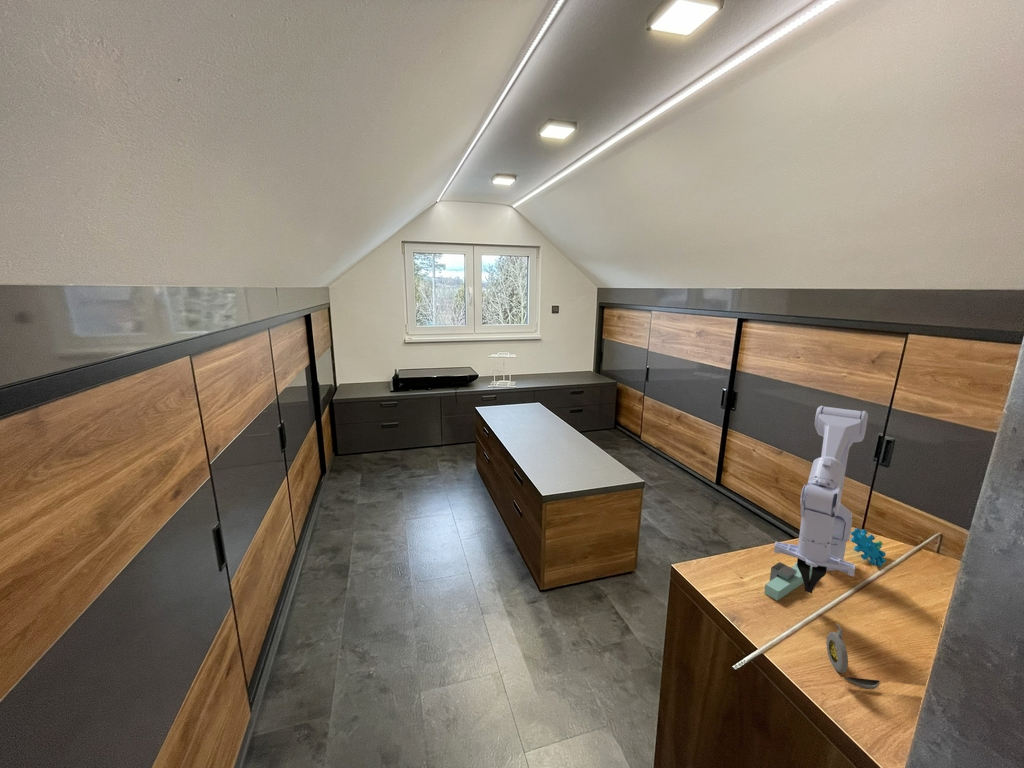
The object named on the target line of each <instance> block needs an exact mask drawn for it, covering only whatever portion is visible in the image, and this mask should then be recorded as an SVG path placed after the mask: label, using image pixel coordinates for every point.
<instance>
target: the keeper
mask: <svg viewBox="0 0 1024 768" xmlns="http://www.w3.org/2000/svg"><path fill="white" fill-rule="evenodd" d="M769 574H770V576H769V581H771V580H773V579H774V578H776V577H777V576H781V577H783V578H785V579H787V580H789V579H790V578H792V577H793V576H794V575H796V574H797V570H795V569H793V568H792V567H791V566H789V565H786V564H785V563H782V562H780V561H779V562H777V563H776V564H775V565H773V566H771V567H770V573H769Z"/></svg>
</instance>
